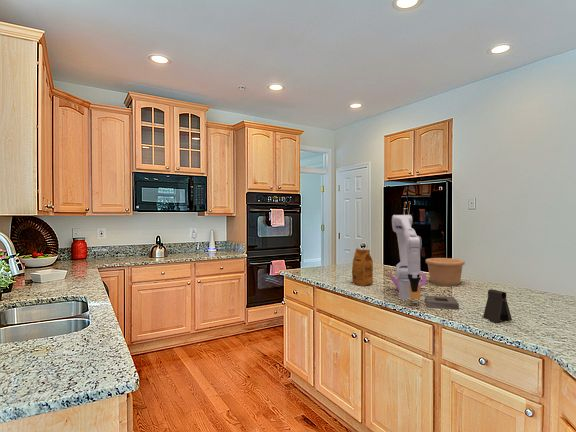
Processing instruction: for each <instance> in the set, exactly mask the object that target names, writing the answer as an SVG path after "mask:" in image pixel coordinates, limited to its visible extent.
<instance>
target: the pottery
mask: <svg viewBox="0 0 576 432" xmlns="http://www.w3.org/2000/svg"><path fill="white" fill-rule="evenodd" d="M425 264H427V268H428V274H429V280H430V281H429V282H430V284H433V285H434V286H440V287H441V286H442V287H457V286H460V284H461V277H462V273H463V265H465V260H463V259H458V258H452V257H449V258H448V257H433V258H432V257H430V258H426V259H425Z"/></svg>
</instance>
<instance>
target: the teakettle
mask: <svg viewBox="0 0 576 432" xmlns="http://www.w3.org/2000/svg"><path fill="white" fill-rule="evenodd" d="M387 275H388V277H389V278H390V279H391V281H392V282H393V283H394V285H395V287H396V290H397V291H398V292H399V280H398V279H397V278H396V277H395V276H393V274H392V273H388V274H387ZM419 277H421V279H422V280H420V281H419V285H420V291H421V290H422V286H424V285H426V284H427V283H428V282H427V281H428V280H427V275H426V273H424V272H423V273H420V276H419Z"/></svg>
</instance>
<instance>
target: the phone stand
mask: <svg viewBox="0 0 576 432" xmlns="http://www.w3.org/2000/svg"><path fill="white" fill-rule="evenodd" d="M482 319H485V320H488V321H487V322H491V323H493V324H500V322H502V323H506V322H505V321H507V322H511V321H510V320H512V321H513V319H512V315H511V311H510V308H509V304H508V300H507V293H506V292H505V291H501V290H497V289H493V288H489V289H488V290H487V299H486V304H485V308H484V312H483V315H482Z"/></svg>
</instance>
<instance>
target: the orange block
mask: <svg viewBox="0 0 576 432" xmlns="http://www.w3.org/2000/svg"><path fill="white" fill-rule="evenodd" d="M409 288H410V300H421V290H420V285H419V284H418V289H417V292H412V289H411V284H409Z"/></svg>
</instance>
